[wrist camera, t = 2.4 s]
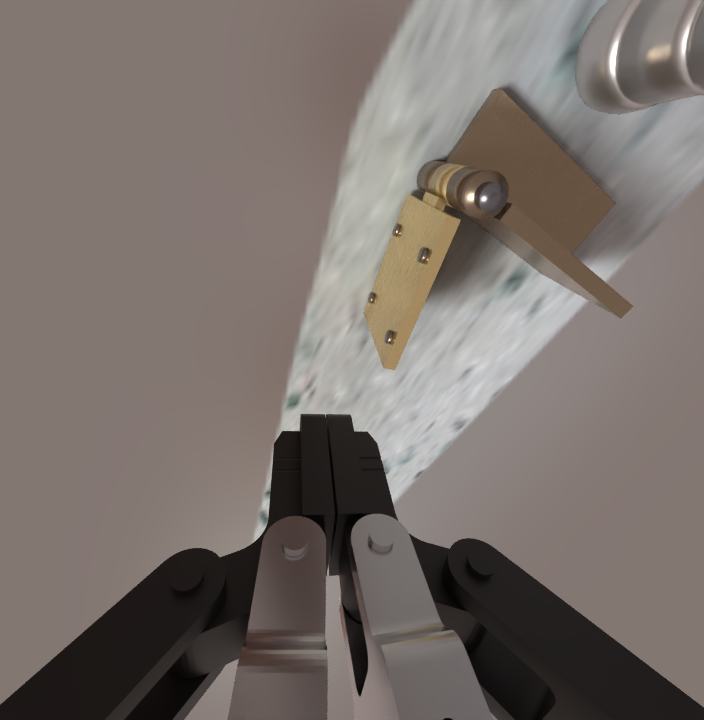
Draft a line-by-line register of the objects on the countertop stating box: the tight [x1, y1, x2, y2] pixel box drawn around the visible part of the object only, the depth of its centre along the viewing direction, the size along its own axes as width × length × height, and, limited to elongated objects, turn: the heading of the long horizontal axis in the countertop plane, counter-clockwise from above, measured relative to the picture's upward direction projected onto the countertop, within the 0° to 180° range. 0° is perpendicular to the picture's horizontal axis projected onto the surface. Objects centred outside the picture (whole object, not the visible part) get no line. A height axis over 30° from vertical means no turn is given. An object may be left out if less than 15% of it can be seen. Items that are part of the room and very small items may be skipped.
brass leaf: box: [364, 163, 469, 370], centre depth 26 cm, size 12×3×9 cm, turn 162°
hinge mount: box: [417, 88, 633, 318], centre depth 25 cm, size 8×14×10 cm, turn 57°
